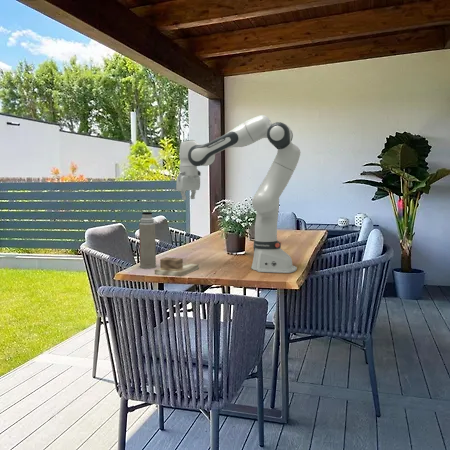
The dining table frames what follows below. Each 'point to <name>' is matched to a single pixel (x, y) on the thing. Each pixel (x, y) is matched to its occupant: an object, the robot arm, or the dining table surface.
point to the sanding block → (171, 264)
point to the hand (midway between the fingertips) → (188, 199)
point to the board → (186, 269)
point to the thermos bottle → (147, 241)
